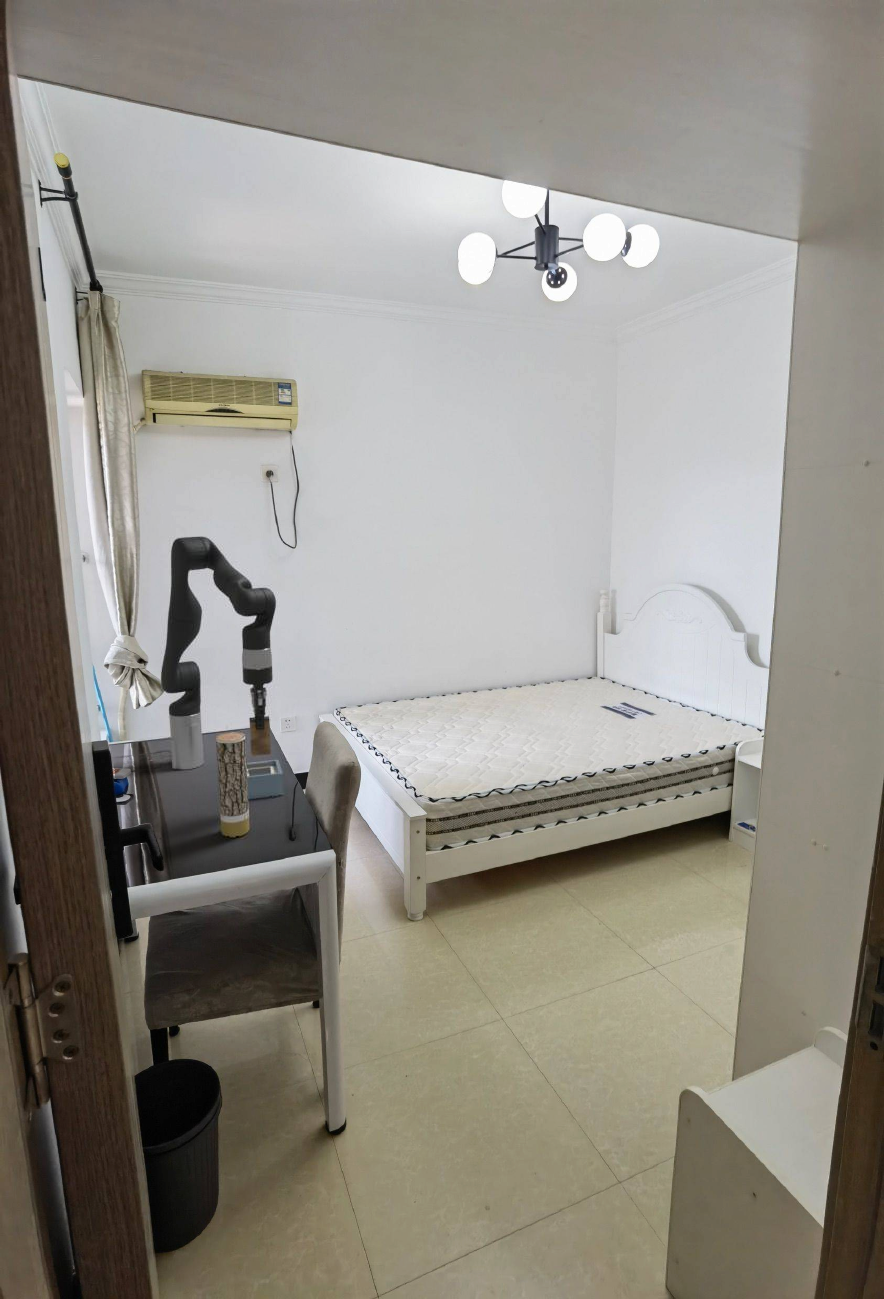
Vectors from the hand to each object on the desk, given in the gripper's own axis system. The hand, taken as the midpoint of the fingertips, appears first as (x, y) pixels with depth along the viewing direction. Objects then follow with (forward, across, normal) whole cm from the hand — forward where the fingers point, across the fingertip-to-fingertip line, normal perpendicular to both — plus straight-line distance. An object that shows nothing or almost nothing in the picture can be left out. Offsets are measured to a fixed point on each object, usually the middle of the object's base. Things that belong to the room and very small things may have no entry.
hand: (259, 727), depth 182 cm
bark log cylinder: (+23, +14, -8) cm, 28 cm away
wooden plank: (+7, 0, 0) cm, 7 cm away
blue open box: (+23, -12, 0) cm, 26 cm away
